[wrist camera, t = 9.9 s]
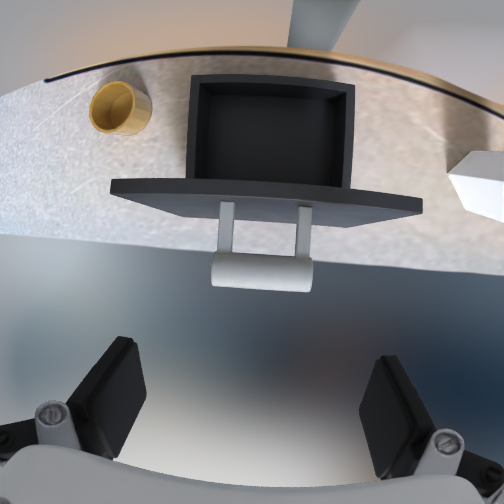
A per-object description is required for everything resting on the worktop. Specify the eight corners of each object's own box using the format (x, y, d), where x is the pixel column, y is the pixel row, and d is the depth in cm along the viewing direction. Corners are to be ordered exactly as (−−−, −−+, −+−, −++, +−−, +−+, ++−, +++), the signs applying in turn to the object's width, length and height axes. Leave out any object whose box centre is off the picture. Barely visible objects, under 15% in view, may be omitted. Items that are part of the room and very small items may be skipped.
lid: (110, 178, 14) (104, 280, 14) (423, 198, 13) (416, 301, 13) (183, 208, 28) (180, 262, 28) (348, 219, 28) (344, 273, 28)
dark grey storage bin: (204, 89, 31) (191, 75, 25) (340, 97, 30) (355, 84, 24) (199, 203, 35) (184, 212, 29) (333, 212, 34) (346, 222, 28)
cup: (120, 85, 31) (100, 77, 26) (159, 95, 31) (143, 86, 26) (103, 129, 33) (82, 126, 28) (141, 141, 33) (123, 138, 28)
